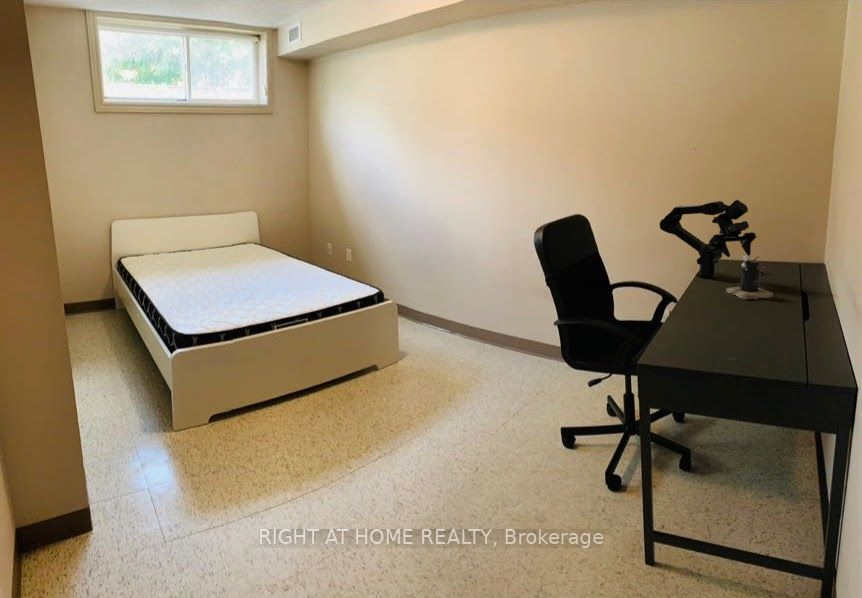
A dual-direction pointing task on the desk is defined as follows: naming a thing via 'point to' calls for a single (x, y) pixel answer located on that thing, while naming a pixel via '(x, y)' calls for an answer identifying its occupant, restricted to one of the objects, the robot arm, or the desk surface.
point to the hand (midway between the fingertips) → (739, 255)
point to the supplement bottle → (750, 276)
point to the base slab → (749, 293)
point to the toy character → (749, 259)
